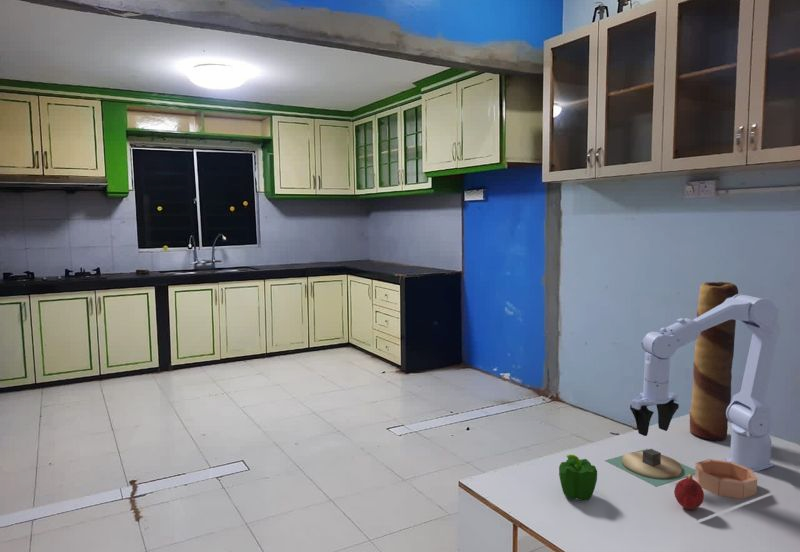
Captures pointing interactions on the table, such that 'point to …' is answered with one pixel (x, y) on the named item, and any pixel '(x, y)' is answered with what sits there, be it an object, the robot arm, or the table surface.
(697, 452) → the table surface
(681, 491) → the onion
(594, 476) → the bell pepper
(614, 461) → the mat
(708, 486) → the bowl
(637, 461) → the lid
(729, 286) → the wafer roll
